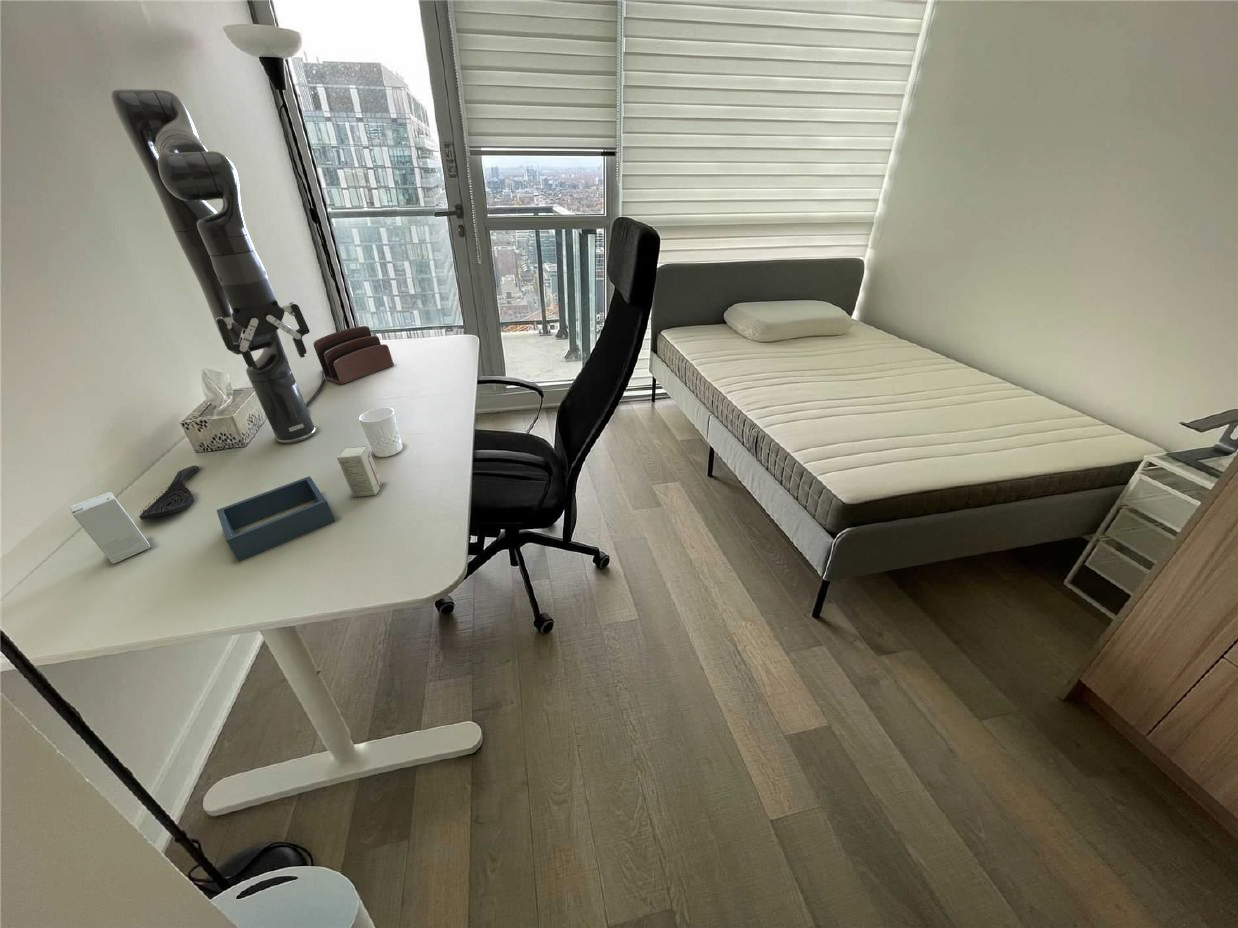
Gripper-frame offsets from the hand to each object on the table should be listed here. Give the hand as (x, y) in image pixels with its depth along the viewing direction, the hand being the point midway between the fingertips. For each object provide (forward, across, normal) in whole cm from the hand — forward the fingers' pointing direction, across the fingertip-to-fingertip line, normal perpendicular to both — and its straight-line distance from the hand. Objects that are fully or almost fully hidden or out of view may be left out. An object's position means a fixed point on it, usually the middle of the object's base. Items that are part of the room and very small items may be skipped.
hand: (279, 362), depth 103 cm
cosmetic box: (+28, +36, 0) cm, 46 cm away
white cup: (+28, -15, -3) cm, 32 cm away
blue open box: (+28, +12, +12) cm, 33 cm away
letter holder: (+28, -28, -66) cm, 77 cm away
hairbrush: (+28, +27, -18) cm, 43 cm away
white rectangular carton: (+28, -5, +12) cm, 31 cm away
